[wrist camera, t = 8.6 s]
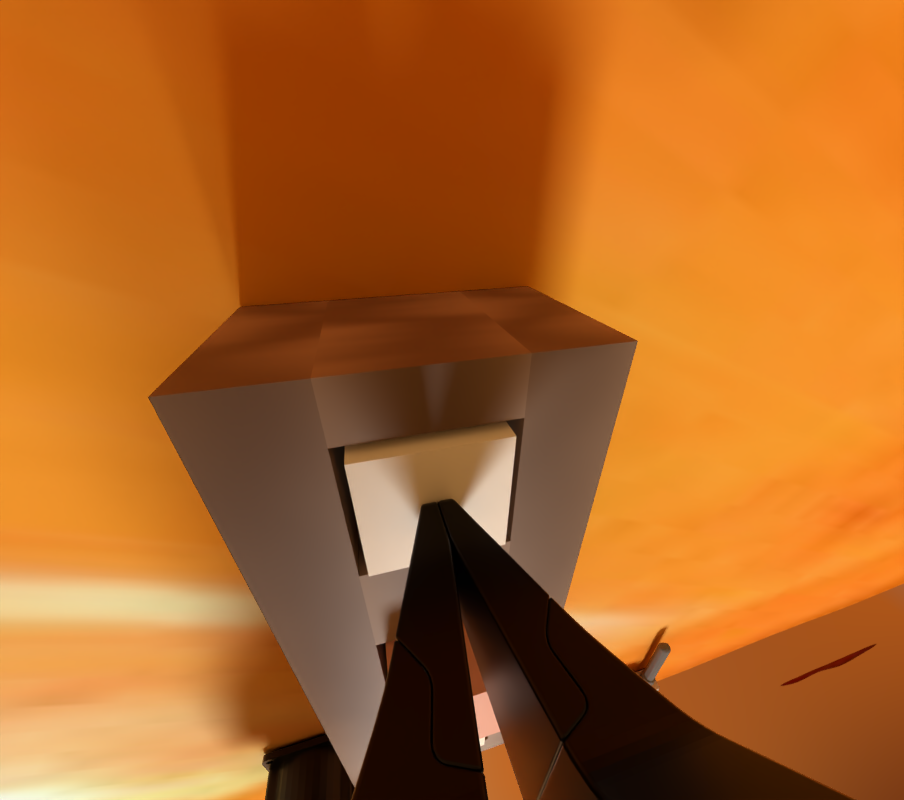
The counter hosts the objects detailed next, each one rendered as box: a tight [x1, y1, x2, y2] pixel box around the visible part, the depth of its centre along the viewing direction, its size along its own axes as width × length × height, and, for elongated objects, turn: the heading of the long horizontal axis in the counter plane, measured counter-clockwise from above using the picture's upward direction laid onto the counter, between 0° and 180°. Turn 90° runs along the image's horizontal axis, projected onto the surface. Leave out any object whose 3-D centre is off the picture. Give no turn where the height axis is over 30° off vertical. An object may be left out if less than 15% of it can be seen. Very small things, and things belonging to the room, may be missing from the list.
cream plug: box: [344, 421, 517, 576], centre depth 11 cm, size 4×4×6 cm
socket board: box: [148, 286, 638, 787], centre depth 16 cm, size 10×25×6 cm, turn 0°
